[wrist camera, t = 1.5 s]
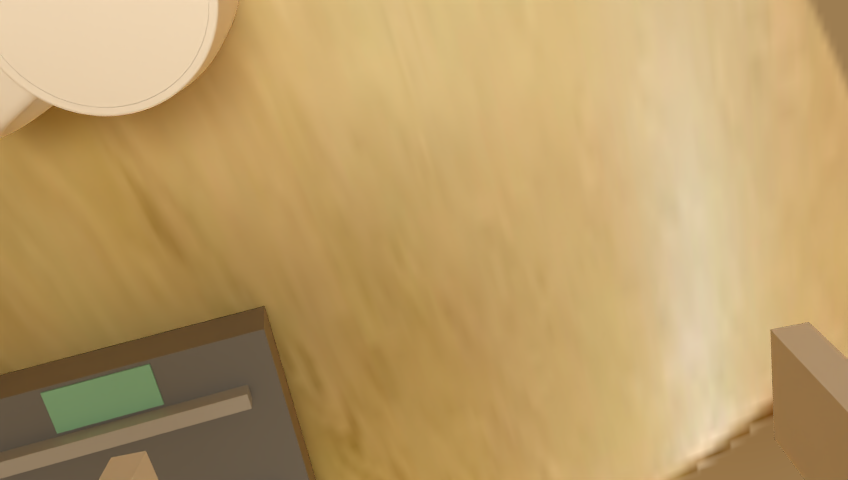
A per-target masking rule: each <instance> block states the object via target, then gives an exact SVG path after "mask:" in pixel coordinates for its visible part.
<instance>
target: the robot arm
mask: <svg viewBox="0 0 848 480" xmlns="http://www.w3.org/2000/svg"><path fill="white" fill-rule="evenodd" d="M771 359H772V387H773V416H774V439H775V441H776V442H777V444H778V445H779V446H780V448H781V449H782V450H783V452H784V453H785V454H786V455H787V457H788V458H789V460H790V461H791V463H792V464H793V465H794V467H795V468H796V469H797V471H798V472H799V473H800V475H801V476H802V477H803V479H804V480H848V359H847V358H846V357H845V356H844V355H843V354H842V353H841V352H840V351H839V350H838V349H837V348H836V347H835V346H833V345H832V344H831V343H830V342H829V341H828V340H827V339H826V338H825V337H824V336H823V335H822V334H821V333H820V332H819V331H818V330H817V329H816V328H814V327H813V326H812V325H811V324H810V323H809V322H807V323H802V324H797V325H791V326H786V327H781V328H776V329H771ZM99 480H158V478H157V475H156V473H155V471H154V468H153V466H152V464H151V462H150V459H149V457H148V455H147V452H146V451H142V452H137V453H132V454H127V455H122V456H116V457H111V459H110V460H109V462H108V464H107V466H106V468H105V469H104V471H103V473H102V475H101V476H100V478H99Z"/></svg>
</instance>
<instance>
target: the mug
mask: <svg viewBox="0 0 848 480" xmlns="http://www.w3.org/2000/svg"><path fill="white" fill-rule="evenodd" d="M238 2H239V0H0V138H2V137H5V136H7V135H9V134H11V133H13V132H15V131H17V130H19V129H20V128H22V127H24V126H25V125H27V124H28V123H30V122H31V121H33V120H34V119H36V118H37V117H38V116H40V115H41V114H43V113H44V112H45V111H47V110H48V109H49V108H51V107H52V106H53V105H54V106H56V107H59V108H61V109H64V110H68V111H71V112H75V113H80V114H85V115H92V116H120V115H127V114H133V113H137V112H140V111H144V110H147V109H149V108H152V107H154V106H156V105H159V104H161V103H162V102H164V101H166V100H168V99H169V98H171V97H172V96H174V95H175V94H177V93H178V92H180V91H181V90H183V89H184V88H186V87H187V86H188V85H190V84H191V83H192V82H193V81H195V80H196V79H197V78H198V77H199V76H200V75H201V74H202V73H203V72H204V71H205V69H206V68H207V67H208V66H209V65H210V63H211V62H212V61H213V59H214V58H215V56H216V55H217V53H218V51H219V50H220V48H221V46H222V44H223V42H224V40H225V38H226V36H227V34H228V32H229V30H230V28H231V26H232V23H233V21H234V18H235V15H236V11H237V7H238Z"/></svg>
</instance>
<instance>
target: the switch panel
mask: <svg viewBox="0 0 848 480" xmlns="http://www.w3.org/2000/svg"><path fill="white" fill-rule="evenodd" d="M142 451H146V452H147V455H148V457H149V459H150V462H151V464H152V466H153V468H154V471H155V473H156V475H157V478H158V480H316V479H315V475H314V472H313V469H312V465H311V462H310V458H309V455H308V452H307V448H306V445H305V441H304V438H303V435H302V431H301V428H300V425H299V421H298V418H297V414H296V411H295V408H294V404H293V401H292V398H291V394H290V391H289V387H288V384H287V381H286V377H285V374H284V370H283V367H282V364H281V360H280V357H279V354H278V350H277V347H276V343H275V340H274V337H273V333H272V330H271V327H270V323H269V320H268V316H267V313H266V310H265V306H263V307H259V308H256V309H252V310H248V311H244V312H240V313H236V314H233V315H229V316H225V317H221V318H217V319H213V320H210V321H206V322H202V323H198V324H194V325H191V326H187V327H183V328H179V329H175V330H171V331H168V332H164V333H160V334H156V335H152V336H149V337H145V338H141V339H137V340H133V341H129V342H126V343H122V344H118V345H114V346H110V347H107V348H103V349H99V350H95V351H91V352H87V353H84V354H80V355H76V356H72V357H68V358H65V359H61V360H57V361H53V362H49V363H45V364H42V365H38V366H34V367H30V368H26V369H22V370H19V371H15V372H11V373H7V374H3V375H0V480H99V478H100V476H101V475H102V473H103V471H104V469H105V468H106V466H107V464H108V462H109V460H110V459H111V457H116V456H122V455H127V454H132V453H137V452H142Z"/></svg>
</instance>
